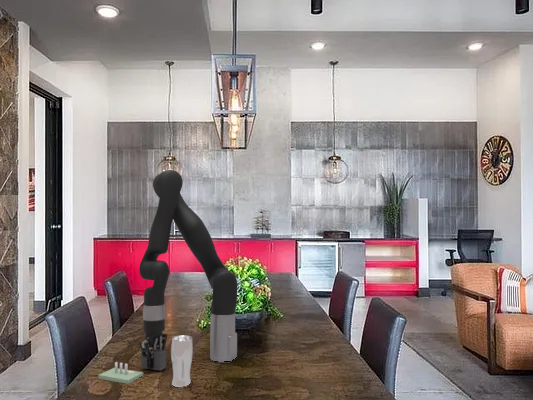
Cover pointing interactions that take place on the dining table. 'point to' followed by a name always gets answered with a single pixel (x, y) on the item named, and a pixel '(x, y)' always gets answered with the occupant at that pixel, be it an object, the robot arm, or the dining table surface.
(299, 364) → the dining table surface
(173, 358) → the beer glass
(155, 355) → the block
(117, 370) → the header board
